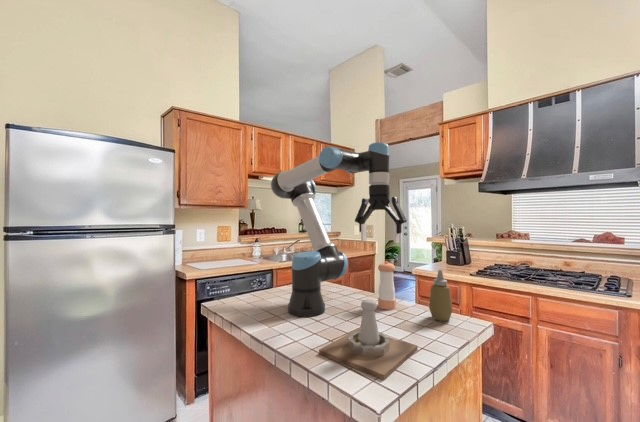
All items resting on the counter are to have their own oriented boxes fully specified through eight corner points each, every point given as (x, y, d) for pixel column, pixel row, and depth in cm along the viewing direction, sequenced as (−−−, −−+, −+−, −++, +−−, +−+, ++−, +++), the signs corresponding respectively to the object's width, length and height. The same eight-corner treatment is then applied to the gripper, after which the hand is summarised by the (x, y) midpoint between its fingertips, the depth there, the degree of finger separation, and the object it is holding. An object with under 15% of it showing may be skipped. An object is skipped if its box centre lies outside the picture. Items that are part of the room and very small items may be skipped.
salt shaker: (379, 352, 78) (379, 304, 78) (358, 350, 79) (357, 302, 79) (379, 343, 84) (379, 298, 84) (359, 341, 85) (359, 297, 85)
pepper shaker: (374, 306, 122) (374, 261, 122) (384, 303, 127) (384, 259, 127) (389, 311, 116) (388, 263, 117) (399, 307, 121) (398, 261, 122)
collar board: (319, 354, 80) (318, 340, 80) (358, 331, 95) (358, 320, 96) (384, 380, 67) (384, 364, 67) (417, 349, 83) (417, 336, 83)
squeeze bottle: (442, 324, 102) (441, 273, 102) (424, 317, 109) (424, 269, 109) (457, 320, 106) (457, 271, 106) (439, 313, 113) (438, 267, 113)
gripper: (415, 183, 103) (416, 242, 102) (356, 187, 119) (356, 239, 118) (406, 181, 97) (407, 244, 97) (345, 186, 113) (346, 240, 113)
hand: (379, 241), depth 107 cm, fingers open, 13 cm apart
